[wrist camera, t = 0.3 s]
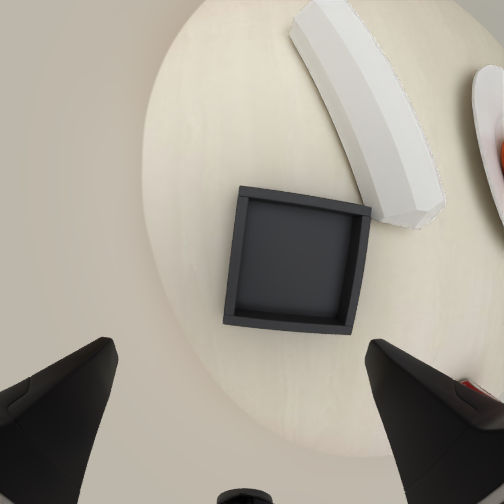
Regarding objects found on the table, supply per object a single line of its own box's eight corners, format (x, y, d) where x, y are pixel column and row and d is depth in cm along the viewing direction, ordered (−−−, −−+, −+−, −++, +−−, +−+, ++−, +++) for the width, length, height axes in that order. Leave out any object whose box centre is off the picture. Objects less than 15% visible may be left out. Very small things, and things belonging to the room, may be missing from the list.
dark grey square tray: (341, 325, 24) (351, 335, 21) (224, 314, 24) (222, 324, 21) (359, 209, 23) (372, 207, 21) (240, 190, 23) (239, 185, 20)
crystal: (465, 212, 19) (364, 1, 18) (448, 232, 16) (321, -23, 14) (404, 223, 26) (321, 33, 24) (370, 244, 22) (275, 20, 20)
